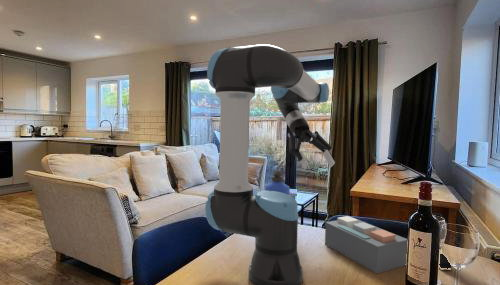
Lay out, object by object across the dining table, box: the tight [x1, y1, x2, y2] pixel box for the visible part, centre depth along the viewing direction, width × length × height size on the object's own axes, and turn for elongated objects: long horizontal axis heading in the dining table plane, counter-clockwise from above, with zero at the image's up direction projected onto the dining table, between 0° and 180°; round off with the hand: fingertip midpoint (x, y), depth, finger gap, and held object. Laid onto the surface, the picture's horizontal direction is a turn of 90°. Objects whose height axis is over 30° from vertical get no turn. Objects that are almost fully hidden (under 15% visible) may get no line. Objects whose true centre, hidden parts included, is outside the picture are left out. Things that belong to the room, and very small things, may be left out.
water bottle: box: [264, 170, 291, 195], centre depth 114 cm, size 9×9×25 cm
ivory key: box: [336, 215, 359, 229], centre depth 106 cm, size 5×5×3 cm
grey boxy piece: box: [324, 217, 407, 274], centre depth 99 cm, size 23×13×8 cm, turn 25°
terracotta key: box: [370, 228, 395, 243], centre depth 92 cm, size 5×5×3 cm
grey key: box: [353, 221, 377, 237], centre depth 99 cm, size 5×5×3 cm
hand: (319, 165), depth 111 cm, fingers open, 11 cm apart
